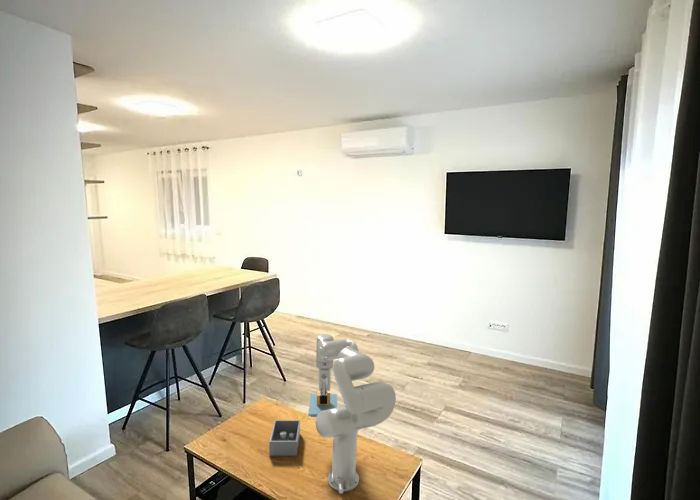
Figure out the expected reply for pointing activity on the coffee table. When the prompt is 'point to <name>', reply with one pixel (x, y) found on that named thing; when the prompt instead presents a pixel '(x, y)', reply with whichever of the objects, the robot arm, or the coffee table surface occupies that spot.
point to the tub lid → (317, 407)
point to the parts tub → (284, 438)
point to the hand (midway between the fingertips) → (323, 401)
